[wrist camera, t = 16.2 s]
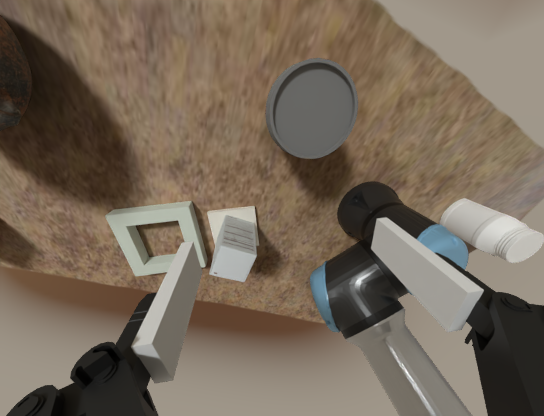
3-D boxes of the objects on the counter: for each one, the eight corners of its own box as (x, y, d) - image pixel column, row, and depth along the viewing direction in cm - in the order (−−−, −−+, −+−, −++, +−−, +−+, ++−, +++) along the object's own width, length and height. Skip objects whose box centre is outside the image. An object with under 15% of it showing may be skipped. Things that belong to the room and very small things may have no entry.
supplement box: (244, 245, 51) (244, 283, 40) (216, 237, 49) (207, 275, 38) (255, 222, 48) (258, 255, 37) (225, 212, 46) (219, 245, 35)
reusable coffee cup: (246, 113, 39) (247, 113, 25) (293, 58, 36) (321, 26, 22) (289, 157, 44) (309, 178, 30) (333, 112, 41) (377, 113, 27)
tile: (254, 205, 48) (254, 207, 47) (258, 243, 52) (259, 245, 51) (208, 211, 47) (207, 213, 46) (216, 248, 52) (216, 250, 51)
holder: (191, 200, 45) (188, 206, 42) (207, 259, 53) (205, 266, 50) (113, 209, 44) (104, 215, 41) (141, 267, 51) (135, 276, 49)
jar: (484, 208, 56) (558, 238, 43) (459, 234, 60) (521, 270, 46) (458, 194, 53) (529, 222, 40) (433, 223, 57) (491, 258, 43)
